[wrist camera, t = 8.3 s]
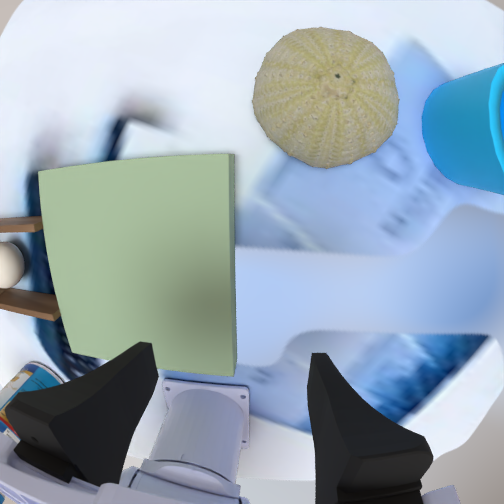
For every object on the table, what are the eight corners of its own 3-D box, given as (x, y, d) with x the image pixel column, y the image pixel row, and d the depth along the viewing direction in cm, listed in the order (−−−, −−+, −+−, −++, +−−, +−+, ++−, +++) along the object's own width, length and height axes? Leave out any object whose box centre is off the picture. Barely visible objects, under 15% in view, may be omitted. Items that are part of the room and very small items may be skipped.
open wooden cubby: (82, 331, 25) (42, 372, 19) (15, 316, 26) (-23, 346, 19) (60, 214, 22) (2, 236, 15) (-7, 219, 23) (-55, 237, 16)
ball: (-14, 294, 20) (6, 269, 24) (16, 300, 21) (36, 273, 25) (-28, 255, 18) (-4, 232, 22) (1, 259, 19) (26, 234, 23)
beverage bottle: (82, 420, 30) (14, 531, 11) (34, 396, 30) (-38, 489, 11) (69, 374, 27) (-25, 499, 8) (19, 349, 28) (-76, 446, 9)
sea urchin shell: (212, 112, 17) (269, 8, 10) (272, 72, 21) (326, -2, 14) (325, 208, 18) (423, 139, 11) (360, 147, 22) (431, 89, 15)
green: (237, 358, 24) (233, 376, 22) (84, 339, 25) (72, 352, 23) (234, 154, 20) (228, 153, 17) (56, 169, 21) (38, 171, 18)
